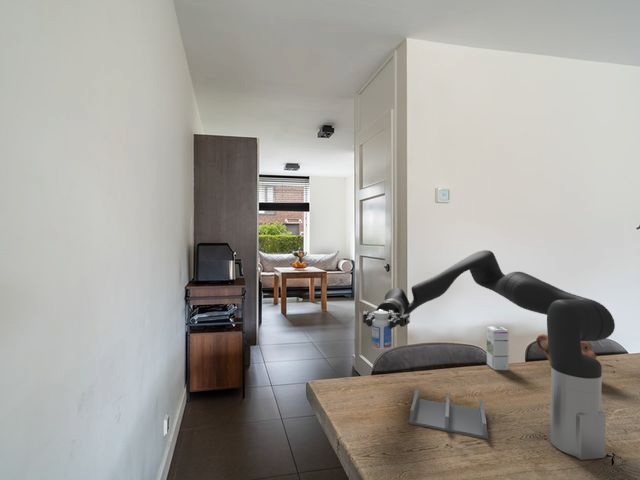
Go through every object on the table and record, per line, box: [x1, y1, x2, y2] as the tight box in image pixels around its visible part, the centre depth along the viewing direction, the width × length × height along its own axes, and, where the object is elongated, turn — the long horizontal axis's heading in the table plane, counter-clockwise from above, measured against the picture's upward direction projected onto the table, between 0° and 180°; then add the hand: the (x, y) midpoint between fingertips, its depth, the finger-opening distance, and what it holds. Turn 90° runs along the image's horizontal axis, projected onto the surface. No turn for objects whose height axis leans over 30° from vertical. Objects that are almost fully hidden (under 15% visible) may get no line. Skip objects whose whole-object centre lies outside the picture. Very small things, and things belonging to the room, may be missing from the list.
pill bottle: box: [371, 310, 392, 351], centre depth 97 cm, size 6×5×10 cm
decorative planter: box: [535, 334, 597, 366], centre depth 124 cm, size 20×12×14 cm, turn 28°
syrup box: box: [486, 325, 510, 371], centre depth 129 cm, size 6×6×14 cm
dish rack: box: [408, 388, 489, 440], centre depth 92 cm, size 14×18×4 cm
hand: (379, 323), depth 95 cm, fingers closed on pill bottle, 5 cm apart
